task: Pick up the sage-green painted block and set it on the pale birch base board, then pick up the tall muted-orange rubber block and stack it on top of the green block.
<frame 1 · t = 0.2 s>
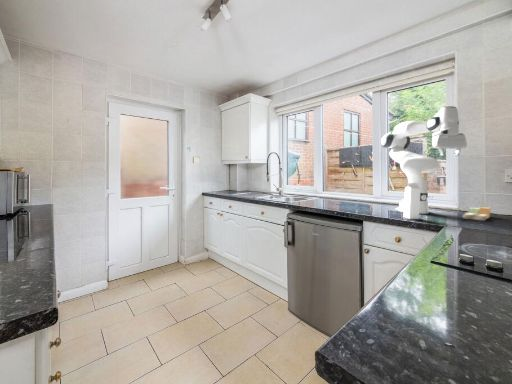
hand: (449, 155, 150), 39 cm above the worktop, tool pointing down, fingers open, 8 cm apart
base board: (474, 218, 154), on the worktop
sage block: (474, 215, 164), on the worktop
orange block: (484, 217, 158), on the worktop
milk: (410, 218, 154), on the worktop
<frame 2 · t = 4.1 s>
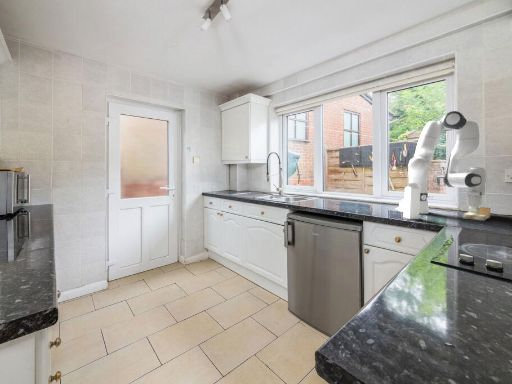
hand: (474, 213, 163), 2 cm above the worktop, tool pointing down, fingers closed on sage block, 5 cm apart
sage block: (473, 215, 164), on the worktop, touching gripper
everything else where it was.
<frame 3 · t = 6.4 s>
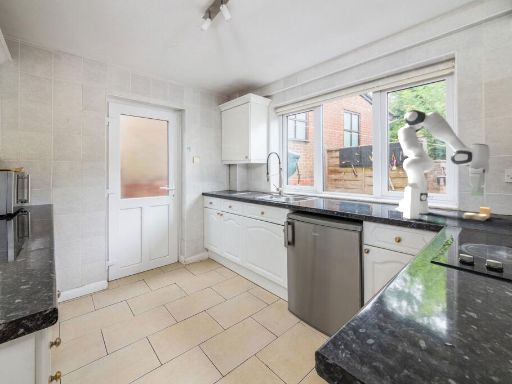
hand: (476, 192, 152), 16 cm above the worktop, tool pointing down, fingers closed on sage block, 5 cm apart
sage block: (477, 195, 152), point 14 cm above the worktop, touching gripper
everything else where it was.
when the fingers open (5 cm above the worktop, at t = 8.8 s): sage block stays where it is, resting on base board.
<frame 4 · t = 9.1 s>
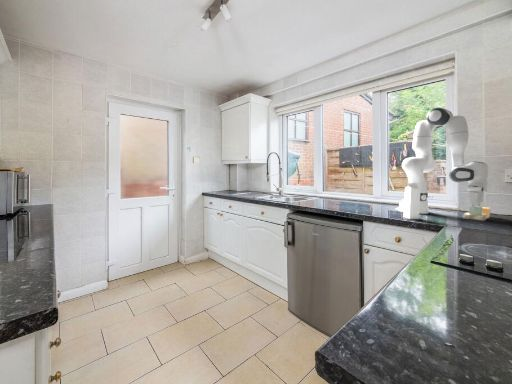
hand: (475, 210, 153), 5 cm above the worktop, tool pointing down, fingers open, 8 cm apart
sage block: (475, 214, 153), point 2 cm above the worktop, touching base board
everything else where it was.
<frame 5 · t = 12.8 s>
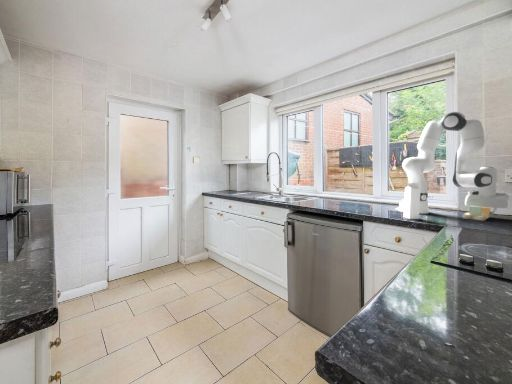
hand: (484, 214, 158), 2 cm above the worktop, tool pointing down, fingers closed on orange block, 5 cm apart
orange block: (484, 217, 158), on the worktop, touching gripper
everything else where it was.
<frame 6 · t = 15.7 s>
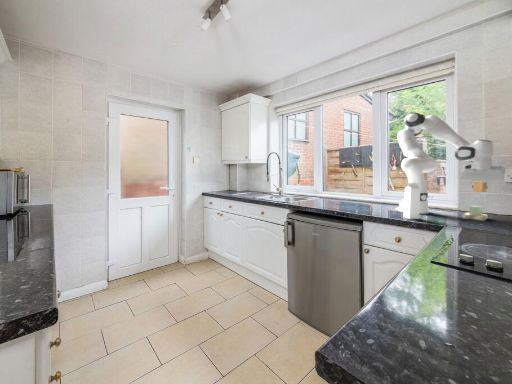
hand: (479, 188, 154), 18 cm above the worktop, tool pointing down, fingers closed on orange block, 5 cm apart
orange block: (479, 191, 154), point 17 cm above the worktop, touching gripper
everything else where it was.
when the fingers open (10 cm above the worktop, at t = 18.6 s): orange block stays where it is, resting on sage block.
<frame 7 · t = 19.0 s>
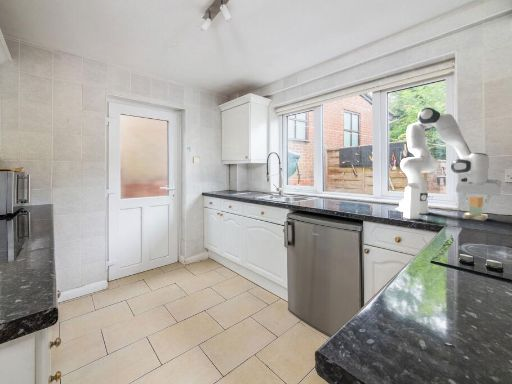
hand: (476, 201, 153), 10 cm above the worktop, tool pointing down, fingers open, 8 cm apart
sage block: (475, 214, 153), point 2 cm above the worktop, touching base board, orange block
orange block: (475, 206, 153), point 7 cm above the worktop, touching sage block
everything else where it was.
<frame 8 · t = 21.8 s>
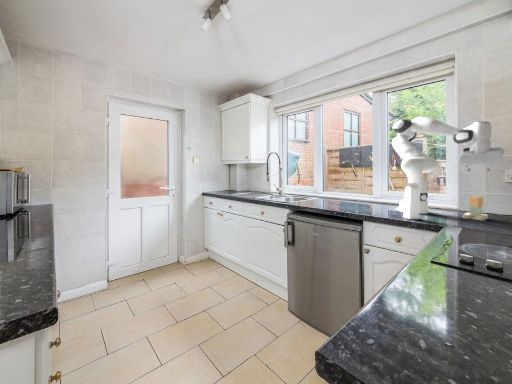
hand: (478, 171, 151), 29 cm above the worktop, tool pointing down, fingers open, 8 cm apart
nothing on the worktop moved.
at the end: sage block 0.1 cm off-centre on the base board, point 2.5 cm above the base board's base; orange block 0.0 cm off-centre on the base board, point 7.5 cm above the base board's base; orange block tilted 0° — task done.
